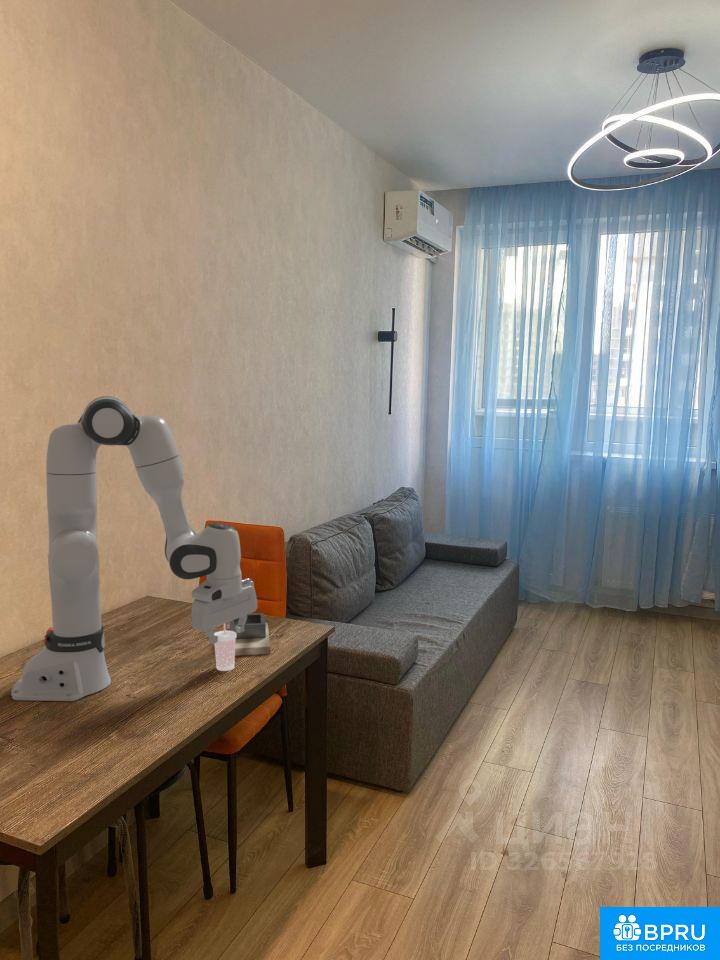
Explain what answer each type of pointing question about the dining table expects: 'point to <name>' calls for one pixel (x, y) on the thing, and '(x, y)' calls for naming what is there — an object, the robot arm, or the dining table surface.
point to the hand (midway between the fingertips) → (227, 637)
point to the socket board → (252, 645)
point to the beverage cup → (225, 649)
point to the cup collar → (251, 627)
